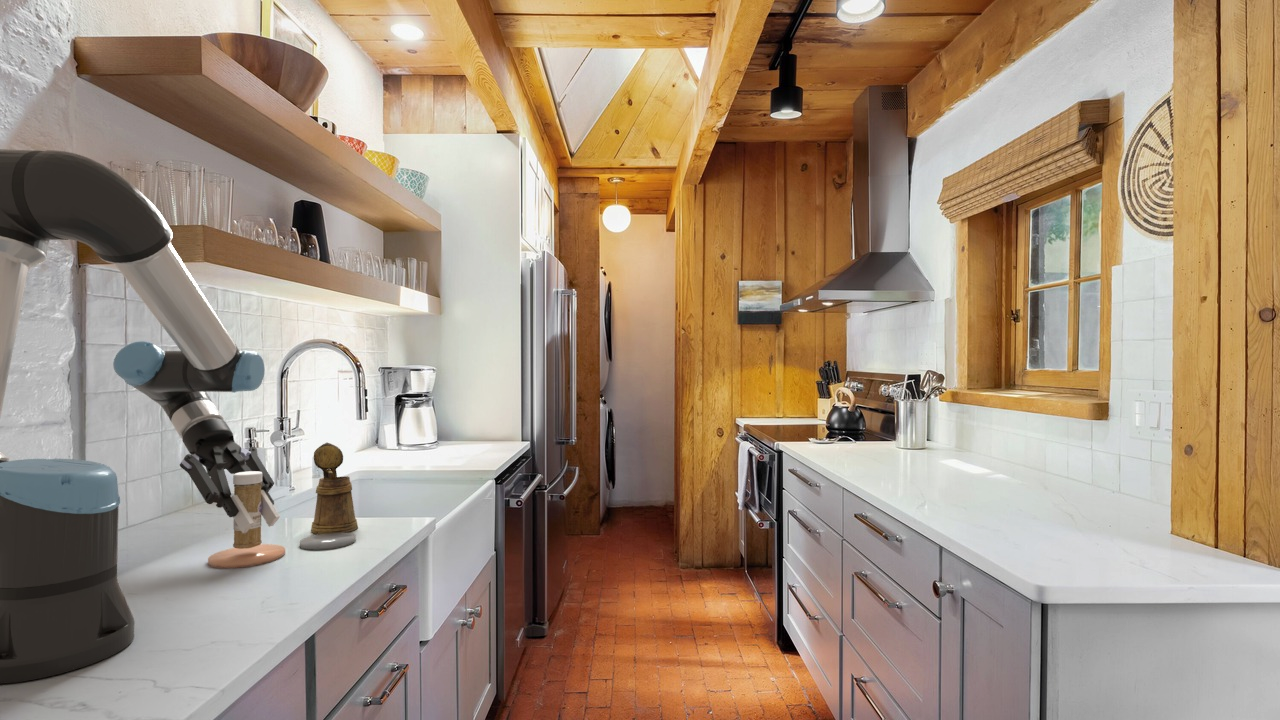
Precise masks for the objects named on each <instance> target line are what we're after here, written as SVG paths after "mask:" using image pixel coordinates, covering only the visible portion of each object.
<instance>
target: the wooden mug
mask: <svg viewBox="0 0 1280 720" xmlns="http://www.w3.org/2000/svg"><path fill="white" fill-rule="evenodd" d="M313 462H314V464H315V466H316V467H317V468H318V469H321V470H322V473H323V474H322V475H323V477H322V478H319V479H318V480H319V481H318V484H317V486H316V487H315V488H316V489H315V494H316V504H315V511H314V518H313V521H312V522H311V527H310V528H311V529H310V531H311V533H312V534H313V533H314V534H313V535H318V534H324V533H334V532H346V533H351V532H353V531H355V530H357V529H358V528H359V527H358V521H357V518H356V514H355V508H354V501H353V495H352V494H353V493H352V490H353V485H352V482H351V479H350V476H349V475H348V476H345V475H344V476H338V475H337V469H338V468H340V466H342V464H343V462H344V454H343V452H342V450H341V449H340V447H338V446H337V445H334V444H332V443H329V442H324V443H323V444H322V445H320V446H318V448H316V449H315V450H314V452H313Z"/></svg>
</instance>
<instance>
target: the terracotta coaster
mask: <svg viewBox="0 0 1280 720" xmlns="http://www.w3.org/2000/svg"><path fill="white" fill-rule="evenodd" d="M285 555H286V548H285V547H284V546H283V545H279V544H272V543H271V544H270V543H269V544H267V543H266V544H265V543H264V544H263V543H261V544H260V545H258V546H255V547H252V548H244V549H238V548H234V547H233V548H232V547H231V548H228V549H224V550H220V551H218V552H215V553H213V554H211V555H210V556H209V557H208V558H207V565H208V566H209V567H211V568H216V569H237V568H239V569H240V568H249V567H253V566H254V567H255V566H259V565H264V564H267V563H270V562H274V561H276V560H280V559H281V558H283V557H284V556H285Z"/></svg>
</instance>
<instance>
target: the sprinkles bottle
mask: <svg viewBox="0 0 1280 720" xmlns="http://www.w3.org/2000/svg"><path fill="white" fill-rule="evenodd" d="M232 475H233V478H232V480H233V481H232V484H233V488H234V489H233V490H234V493H233V495H237V496H238V497H239V499H240V501H241V502H242V504H243V506H244V507H245V509H246V510H247V512H248V514H249V515H250V517H251V519H252V520H253V522H254V523H253V525H252V526H251V527H250V529H249V530H248V531H247V532H246V533H242V532H241V530H240V528H239V527H238V525H237V523H236V522H235V520H234V519H233V543H232V547H233V548H238V549H244V548H252V547H255V546H258V545H261V544H263V543H262V514H261V484H262V483H261V482H262V472H259V471H247V472H239V473H235V474H232Z"/></svg>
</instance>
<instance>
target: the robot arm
mask: <svg viewBox="0 0 1280 720" xmlns="http://www.w3.org/2000/svg"><path fill="white" fill-rule="evenodd" d="M51 240H52V241H54V240H58V241H59V240H60V241H61V240H63V241H65V240H66V241H67V240H68V241H69V240H72V241H77V242H80V243H82V244H85V245H87V246H88V247H90V248H91V249H92V250H93V251H94V253H95V254H96V255H97V257H98V258H99V259H100V260H102V261H103V262H106V263H108V264H112V265H115V266H116V268H117V269H118V271H119V272H120V273H121V274H122V276H123V277H124V278H125V280H126V281H127V283H128V284H129V285H130V286H131V288H133V290H134V292H135V293H136V294H137V296H138V297H139V298H140V299H141V301H142V302H143V303H144V304H145V306H146V307H147V309H148V310H149V311H150V313H151V314H152V315H153V316H154V318H155V320H156V321H158V323H159V324H160V326H161V327H162V328H163V329H164V331H165V332H166V333H167V334H168V336H169V337H170V338H171V340H172V341H173V343H174V344H175V345H176V346H177V348H178V349H179V350H164V349H162V348H161V347H160V346H158V345H155V344H154V343H151V342H149V341H145V340H143V341H142V340H141V341H134V342H130V343H129V344H127V345H125V346H124V347H122V348H121V349H119V351H118V352H117V353H116V355H115V357H114V359H113V365H112V366H113V370H114V372H115V374H116V375H118V376H119V377H120V378H121V379H122V380H124V382H125V383H126V384H127V385H129V386H131V387H132V388H135V389H136V390H138V391H139V392H141V393H143V394H144V395H146V396H147V397H148V398H149V399H151V400H153V401H154V402H155V403H156V404H158V405H159V406H160V407H161V408H162V409H163V411H164V412H165V414H166V416H167V417H168V418H169V421H170V422H171V425H172V426H173V427H174V429H175V431H176V433H177V434H178V436H179V437H180V439H182V443H183V445H184V446H185V448H186V449H187V451H188V454H185V456H184V458H183V459H182V460H181V462H180V463H179V466H180V468H181V469H182V470H184V471H185V472H186V473H187V474H188V475H189V477H190V479H191V480H192V482H193V483H194V485H195V487H196V489H197V490H198V492H199V493H200V495H201V497H202V498H203V500H204V501H205V503H206V504H208V505H212V504H214V503H216V504H215V506H216V508H219V509H221V508H223V510H224V512H225V514H227V515H226V516H228V517H229V518H233V521H234V520H235V522H236V523H237V525H238V527H239V528H240V530H241V532H242V533H246V532H247V531H248V530H249V529H250V527H251V526H252V525H253V523H254V522H253V520H252V519H251V517H250V515H249V514H248V512H247V510H246V509H245V507H244V506H243V504H242V502H241V501H240V499H239V497H238V496H237V495H234V494H233V495H232V492H231V488H230V486H229V483H228V482H229V481H228V478H227V475H226V471H225V470H227V472H228V473H229V474H231V475H234V474H235V473H239V472H247V471H259V472H262V482H261V483H262V484H261V517H262V518H263V520H264V521H265V523H266V524H267V526H268V527H269V528H270V527H274V525H275V524H276V523H277V522H278V520H279V518H281V515H280V514H279V512H278V511H277V509H276V507H275V506H274V505H275V501H274V499H273V498H272V496H271V494H270V491H271V489H272V488H273V487H274V485H275V482H274V480H273V478H272V477H271V476H270V474H269V472H268V471H267V469H266V467H265V466H264V464H263V462H262V460H261V459H260V457H259V455H258V449H257V447H255V446H250V448H242V447H241V445H240V444H238V443H237V442H236V441H235V438H234V434H233V432H232V430H231V428H230V426H229V425H228V424H227V422H226V421H225V420H224V417H223V415H222V414H221V412H220V410H218V407H217V406H216V405H215V404H214V402H213V401H212V399H211V398H210V395H209V394H208V393H211V392H213V393H237V392H254V391H256V390H257V389H259V387H261V385H262V383H263V380H264V378H265V377H264V376H265V373H266V372H265V362H264V359H263V358H262V355H260V353H258V352H256V351H249V350H247V349H244V350H240V349H239V348H238V346H237V344H236V342H234V339H232V337H231V335H230V334H229V332H228V331H227V329H226V327H225V326H224V325H223V323H222V321H221V319H219V317H218V315H217V314H216V312H215V310H214V309H213V307H212V305H210V303H209V301H208V299H207V298H206V296H205V295H204V293H203V292H202V290H201V288H199V285H198V284H197V282H196V281H195V279H194V278H193V276H192V274H191V273H190V271H189V270H188V268H187V267H186V265H185V263H184V262H183V261H182V258H181V257H180V256H179V254H178V253H177V251H176V250H175V248H174V246H173V245H172V240H173V231H172V229H171V227H170V226H169V224H168V222H167V221H166V219H165V218H164V216H163V214H161V212H160V210H158V208H157V207H156V205H154V204H153V202H152V201H150V199H149V198H148V197H146V196H145V195H144V194H143V193H142V192H141V190H139V189H138V188H137V187H136V186H135V185H134V184H131V182H130V181H128V180H127V179H125V178H124V177H123V176H122V175H121V174H119V173H118V172H116V171H114V170H112V169H111V168H109V167H108V166H106V165H105V164H102V163H100V162H99V161H97V160H95V159H92V158H89V157H87V156H84V155H83V154H82V155H81V154H78V153H74V152H70V151H64V150H50V149H49V150H32V149H3V148H1V149H0V418H1V416H2V410H3V404H4V400H5V395H6V389H7V384H8V380H9V379H8V378H9V373H10V367H11V362H12V358H13V353H14V347H15V341H16V337H17V330H18V325H19V320H20V314H21V311H22V310H21V309H22V303H23V298H24V293H25V288H26V283H27V278H28V272H29V269H31V268H33V267H34V266H37V265H39V264H41V263H43V262H45V261H46V259H47V253H48V248H49V243H50V241H51ZM120 504H121V497H120V495H119V485H118V476H117V473H116V472H115V471H114V470H113V469H112V468H111V467H110V466H109V465H106V464H104V463H101V462H96V461H92V460H91V461H90V460H86V459H84V460H83V459H72V458H48V459H47V458H27V459H24V458H23V459H14V460H10V458H9V457H8V456H7V455H5V454H4V453H3V452H1V450H0V684H13V683H19V682H27V681H32V680H33V681H34V680H39V679H43V678H48V677H51V676H52V677H53V676H56V675H61V674H64V673H67V672H71V671H74V670H78V669H81V668H85V667H87V666H90V665H93V664H96V663H98V662H100V661H102V660H106V659H107V658H109V657H111V656H114V655H115V654H117V653H120V652H121V651H122V650H124V649H125V648H127V647H129V645H130V644H131V643H132V642H133V641H134V639H135V619H134V616H133V614H132V611H131V608H130V606H129V604H128V602H127V599H126V597H125V595H124V592H123V591H122V588H121V585H120V582H119V580H118V554H119V553H118V551H119V550H118V549H119V548H118V545H119V505H120Z"/></svg>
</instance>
